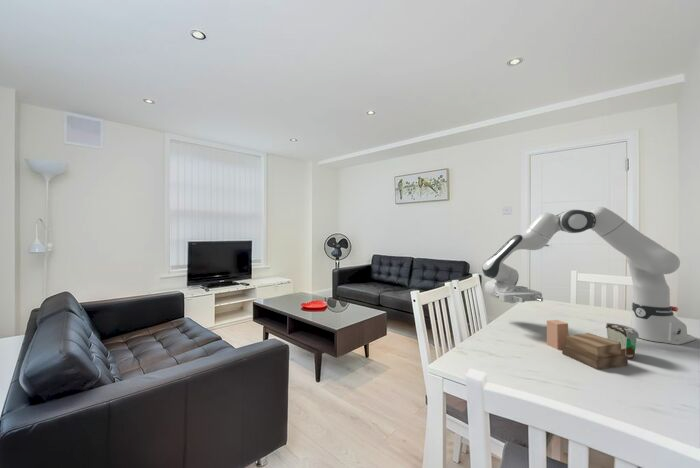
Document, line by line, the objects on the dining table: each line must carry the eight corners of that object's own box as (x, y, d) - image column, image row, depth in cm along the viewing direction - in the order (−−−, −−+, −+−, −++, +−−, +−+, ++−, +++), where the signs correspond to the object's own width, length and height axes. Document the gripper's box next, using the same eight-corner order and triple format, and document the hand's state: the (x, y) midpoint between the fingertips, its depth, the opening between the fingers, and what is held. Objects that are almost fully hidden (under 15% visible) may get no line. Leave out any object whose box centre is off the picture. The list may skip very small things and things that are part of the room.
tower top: (588, 343, 114) (588, 332, 114) (621, 354, 103) (620, 343, 103) (566, 346, 111) (566, 335, 111) (597, 358, 100) (597, 346, 100)
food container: (648, 362, 104) (648, 334, 104) (628, 360, 105) (628, 333, 105) (623, 348, 116) (623, 323, 116) (605, 347, 118) (605, 322, 117)
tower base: (590, 352, 115) (590, 342, 115) (627, 367, 102) (627, 355, 102) (562, 355, 112) (562, 345, 112) (596, 371, 99) (596, 359, 99)
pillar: (557, 343, 122) (557, 319, 122) (568, 348, 117) (567, 323, 117) (546, 344, 121) (546, 320, 121) (557, 349, 116) (557, 324, 116)
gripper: (491, 288, 143) (512, 294, 129) (528, 286, 147) (551, 292, 133) (491, 301, 143) (512, 308, 129) (528, 299, 147) (551, 306, 133)
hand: (532, 300), depth 131 cm, fingers open, 8 cm apart
